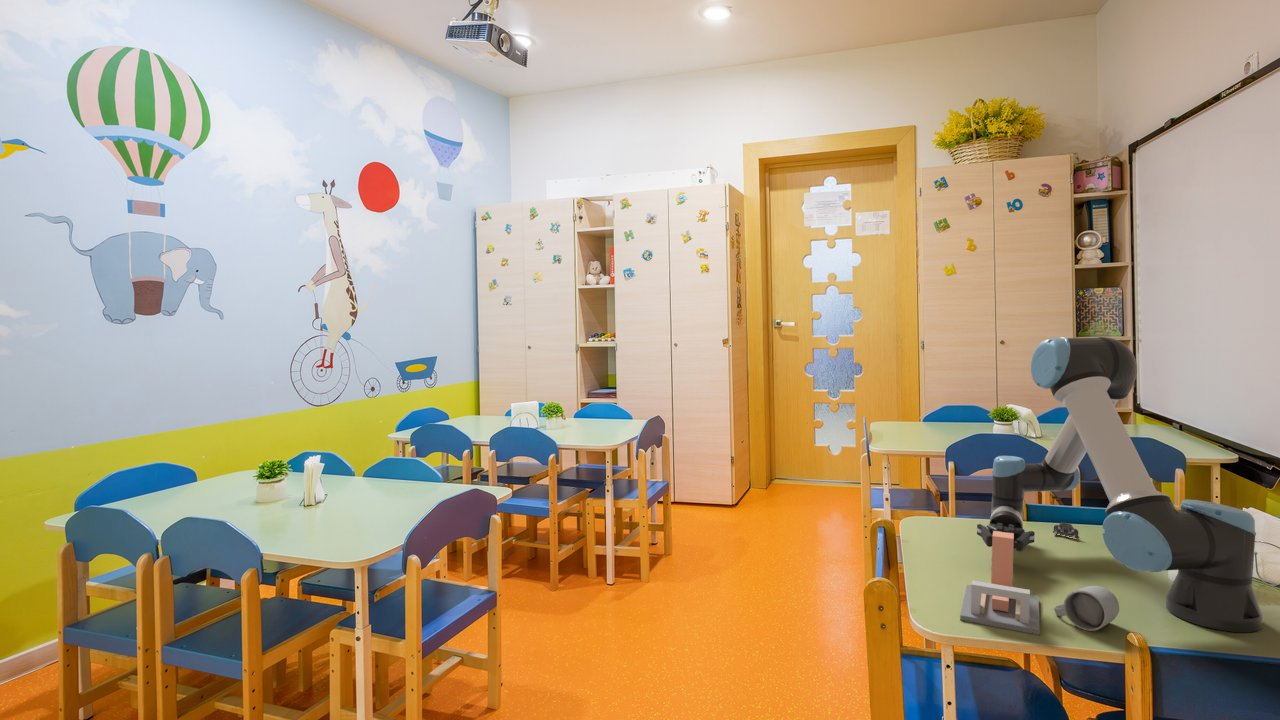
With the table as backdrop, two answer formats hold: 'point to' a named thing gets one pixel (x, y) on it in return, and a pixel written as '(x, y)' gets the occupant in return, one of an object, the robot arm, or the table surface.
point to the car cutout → (1066, 530)
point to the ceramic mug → (1089, 607)
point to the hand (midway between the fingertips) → (1003, 553)
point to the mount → (980, 610)
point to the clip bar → (1002, 566)
